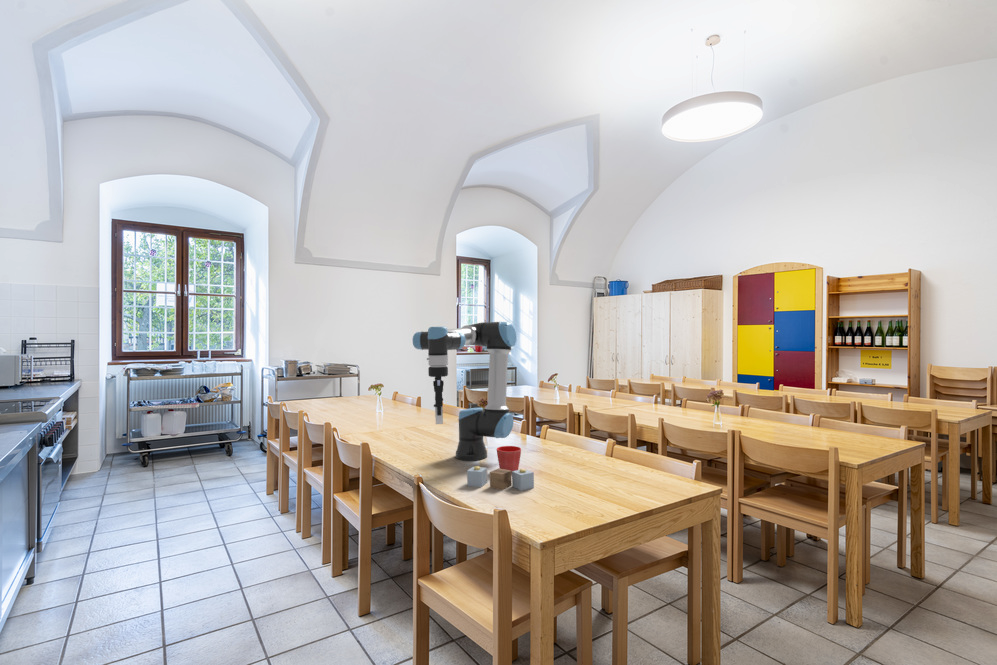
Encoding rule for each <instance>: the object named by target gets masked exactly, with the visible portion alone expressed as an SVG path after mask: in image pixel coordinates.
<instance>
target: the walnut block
mask: <svg viewBox="0 0 997 665" xmlns="http://www.w3.org/2000/svg"><path fill="white" fill-rule="evenodd" d="M510 487H512V473H511V470H505V469H500V468H497V469H494V470H491V471H490V472H489V488H493V489H495V490H496V489H497V490H502V491H503V490H506V489H507V488H510Z"/></svg>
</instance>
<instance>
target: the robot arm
mask: <svg viewBox="0 0 997 665" xmlns="http://www.w3.org/2000/svg"><path fill="white" fill-rule="evenodd" d="M516 343H517V331H516V329H515V327H514V325H513V324H512V323H511V322H508V321H492V322H491V321H490V322H489V321H488V322H487V321H486V322H485V321H483V322H476V323H473V324H468V325H463V326H462V327H459V328H449V329H448V328H447V327H446V326H430V327H429V328H428V331H417V332H415V333H414V334H413V336H412V345H413V347H414V348H415V349H416V350H421V351H423V350H425V351H426V350H428V357H427V358H426V361H428V363H427V364H428V366H429V367H428V371H427V372H428V376H429V377H430V378H434V380H433V381H432V382H433V383H432V384H433V391H434V404H433V408H434V414H435V415H434V417H435V425H443V424H444V411H443V410H444V408H443V405H444V403H443V401H444V397H443V392H444V385H445V384H444V380H442V378H444V377H447V376H448V375H449V373H448V372H449V369H448V364H449V354H448V351H457V350H461V349H462V348H464V347H465V346H476V347H486V351H487V352H488V354H489V360H488V361H489V362H488V363H489V364H488V386H487V387H488V388H487V389H488V390H487V405H485V407H484V408H483V407H472V408H465V409H461V410H460V411H459V413H458V444H457V448H456V451H455V458H456V459H457V460H460V461H480V460H483V459H486V458H487V457H488V450H487V448H486V444H485V442H484V437H486V438H494V439H505V438H508V437H509V436H510V434H511V432H512V430H513V428H514V417H513V416H514V415H513V414H512V413H510V409H509V407H508V406H507V389H508V388H507V387H508V386H507V385H508V383H507V382H508V362H509V361H508V357H509V353H510V352H511V351H512V348H513V347H515V346H516Z"/></svg>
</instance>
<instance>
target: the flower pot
mask: <svg viewBox="0 0 997 665" xmlns="http://www.w3.org/2000/svg"><path fill="white" fill-rule="evenodd" d="M496 454H497V461H498V466H499V469H505V470H511V474H512V471H516V470H519V467H520V462H521V456H522V455H521V454H522V448H521V447H519V446H515V445H514V446H513V445H503V446H499V447H497V448H496Z"/></svg>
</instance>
